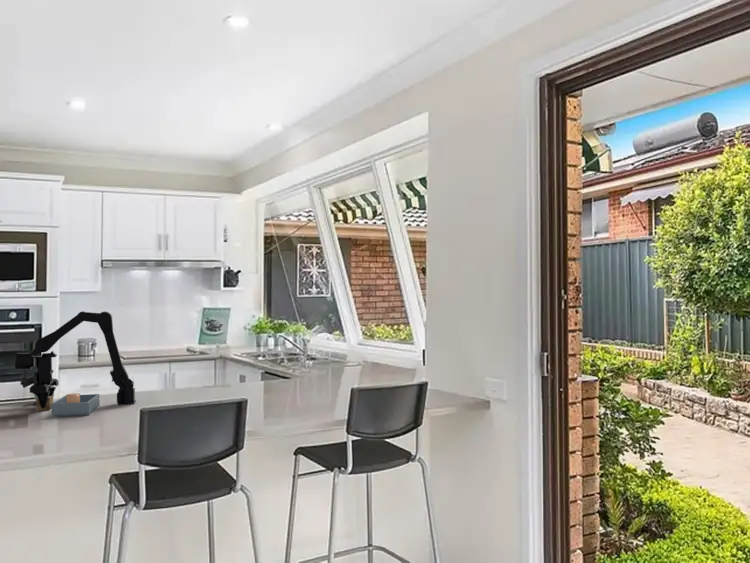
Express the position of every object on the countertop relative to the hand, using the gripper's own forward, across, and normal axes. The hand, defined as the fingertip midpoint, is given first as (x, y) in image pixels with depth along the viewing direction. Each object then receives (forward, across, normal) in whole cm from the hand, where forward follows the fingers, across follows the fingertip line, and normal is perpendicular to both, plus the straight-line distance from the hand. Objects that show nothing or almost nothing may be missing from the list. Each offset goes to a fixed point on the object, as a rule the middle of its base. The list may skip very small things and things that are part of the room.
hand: (44, 406), depth 275 cm
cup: (+1, -18, -5) cm, 18 cm away
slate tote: (+1, +8, +14) cm, 16 cm away
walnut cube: (+1, 0, 0) cm, 1 cm away
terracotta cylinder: (0, +14, +14) cm, 20 cm away
